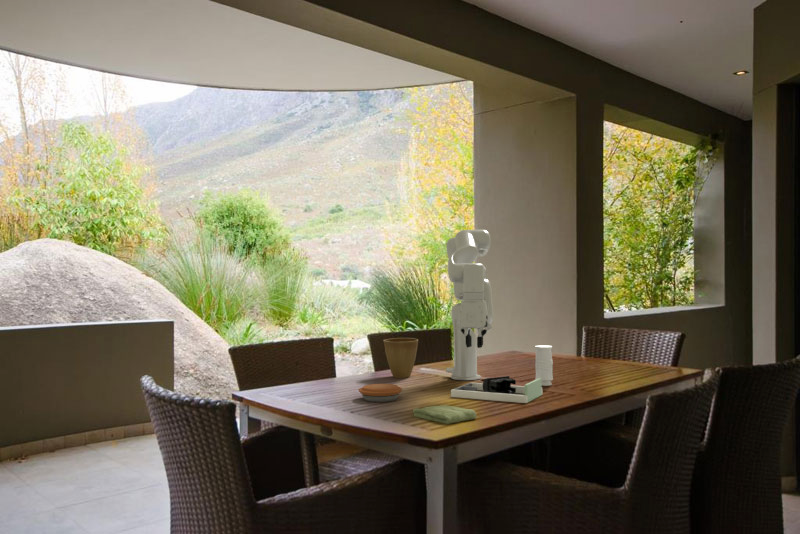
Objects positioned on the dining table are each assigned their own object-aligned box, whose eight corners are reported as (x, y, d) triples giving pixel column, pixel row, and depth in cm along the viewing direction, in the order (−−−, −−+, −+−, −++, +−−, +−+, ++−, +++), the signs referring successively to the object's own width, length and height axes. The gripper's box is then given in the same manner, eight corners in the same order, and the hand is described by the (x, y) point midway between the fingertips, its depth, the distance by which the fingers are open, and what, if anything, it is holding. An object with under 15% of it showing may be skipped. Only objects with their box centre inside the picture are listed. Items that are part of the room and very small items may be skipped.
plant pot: (382, 374, 296) (382, 338, 296) (416, 373, 298) (415, 337, 298) (385, 380, 281) (385, 341, 281) (420, 378, 283) (420, 340, 283)
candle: (551, 382, 268) (551, 345, 269) (554, 385, 262) (553, 347, 262) (534, 382, 269) (533, 345, 269) (536, 385, 262) (535, 347, 262)
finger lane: (451, 396, 241) (450, 380, 241) (470, 389, 257) (470, 373, 257) (526, 403, 227) (526, 385, 227) (542, 394, 243) (542, 377, 243)
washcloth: (441, 411, 218) (441, 401, 218) (479, 420, 204) (479, 409, 204) (409, 417, 210) (409, 406, 210) (446, 426, 196) (446, 415, 196)
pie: (393, 404, 229) (393, 389, 229) (351, 402, 234) (351, 387, 234) (408, 396, 243) (408, 382, 243) (369, 394, 249) (368, 380, 249)
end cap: (504, 393, 247) (504, 375, 247) (516, 396, 241) (516, 377, 241) (482, 396, 242) (482, 377, 242) (494, 399, 236) (494, 379, 236)
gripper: (448, 297, 247) (449, 347, 247) (491, 297, 239) (491, 349, 239) (457, 296, 254) (457, 345, 254) (498, 296, 246) (499, 347, 246)
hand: (474, 346), depth 246 cm, fingers open, 3 cm apart
